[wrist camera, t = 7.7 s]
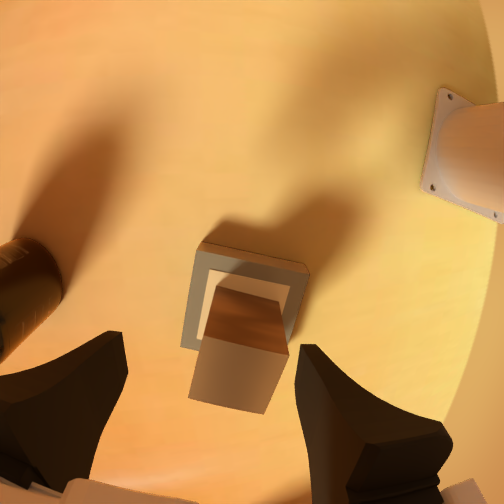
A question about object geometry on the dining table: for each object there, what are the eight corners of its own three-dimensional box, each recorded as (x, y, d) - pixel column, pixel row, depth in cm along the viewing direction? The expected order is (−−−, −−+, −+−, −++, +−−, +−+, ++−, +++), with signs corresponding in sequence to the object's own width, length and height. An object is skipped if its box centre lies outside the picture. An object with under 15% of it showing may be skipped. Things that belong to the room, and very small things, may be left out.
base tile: (304, 264, 22) (310, 274, 20) (278, 351, 23) (280, 367, 21) (201, 241, 21) (196, 250, 19) (185, 332, 23) (179, 347, 21)
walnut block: (278, 301, 20) (289, 355, 14) (260, 352, 21) (263, 414, 15) (215, 285, 20) (203, 335, 14) (202, 338, 21) (187, 398, 15)
